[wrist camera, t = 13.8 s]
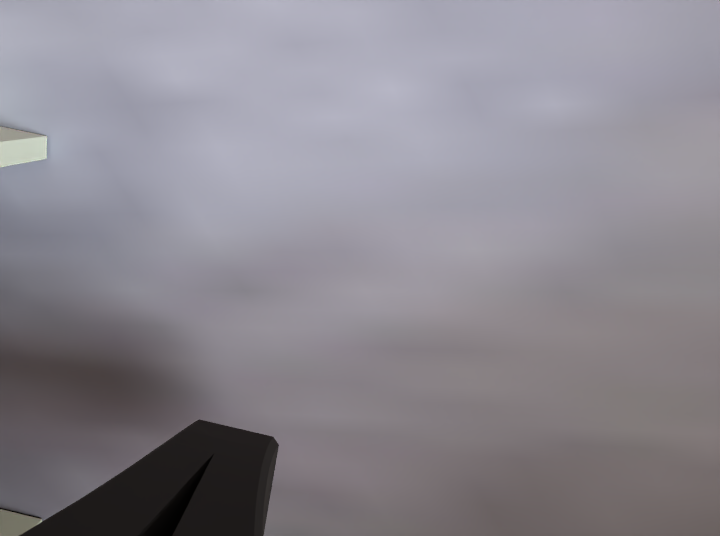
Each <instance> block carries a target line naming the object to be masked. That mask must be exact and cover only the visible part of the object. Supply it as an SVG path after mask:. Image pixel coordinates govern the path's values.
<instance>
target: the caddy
mask: <svg viewBox="0 0 720 536" xmlns="http://www.w3.org/2000/svg"><path fill="white" fill-rule="evenodd" d="M44 159H47V136H44V135H39V134H34V133H30V132H25V131H20V130H15V129H11V128H6V127H1V126H0V167H5V166H11V165H16V164H22V163H27V162H33V161H38V160H44ZM41 522H42V519H39V518H34V517H30V516H26V515H22V514H18V513H14V512H10V511H6V510H2V509H0V536H19V535H21V534H22V533H24V532H26V531H28V530H29V529H31V528H33V527H34V526H36V525H38V524H39V523H41Z"/></svg>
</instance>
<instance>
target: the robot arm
mask: <svg viewBox="0 0 720 536" xmlns="http://www.w3.org/2000/svg"><path fill="white" fill-rule="evenodd" d="M278 446H279V445H278V443H277V442H276V440H275V439H274V437H272V436H267V435H263V434H259V433H254V432H250V431H246V430H242V429H237V428H233V427H229V426H224V425H220V424H216V423H212V422H207V421H203V420H198V421H196V422H194V423H193V424H191V425H190V426H188V427H187V428H185V429H184V430H182V431H181V432H179V433H178V434H176V435H175V436H174V437H172V438H171V439H169V440H168V441H167V442H165V443H164V444H162V445H161V446H159V447H158V448H157V449H155V450H154V451H152V452H151V453H149V454H148V455H146V456H145V457H143V458H142V459H141V460H139V461H138V462H136V463H135V464H133V465H132V466H130V467H129V468H127V469H126V470H124V471H123V472H121V473H120V474H118V475H117V476H115V477H114V478H112V479H111V480H109V481H107V482H106V483H104V484H103V485H101V486H100V487H98V488H97V489H95V490H94V491H92V492H91V493H89V494H88V495H86V496H84V497H83V498H81V499H80V500H78V501H76V502H75V503H73V504H71V505H70V506H68V507H66V508H65V509H63V510H61V511H60V512H58V513H56V514H54V515H53V516H51V517H49V518H48V519H46V520H44V521H43V522H41V523H39V524H38V525H36V526H34V527H33V528H31V529H29V530H28V531H26V532H24V533H22V534H21V535H19V536H263V535H264V529H265V523H266V517H267V511H268V505H269V499H270V493H271V487H272V481H273V476H274V470H275V464H276V458H277V452H278Z"/></svg>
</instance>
